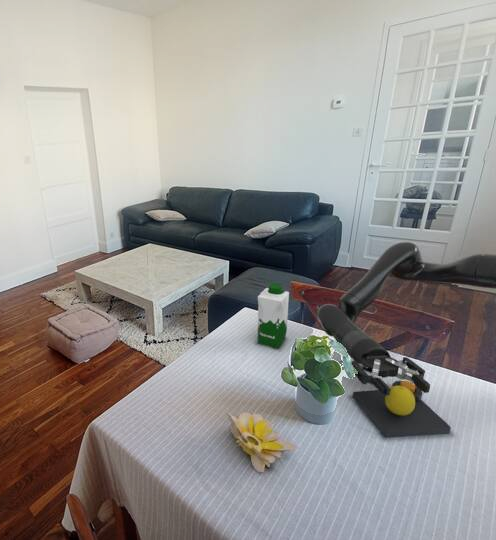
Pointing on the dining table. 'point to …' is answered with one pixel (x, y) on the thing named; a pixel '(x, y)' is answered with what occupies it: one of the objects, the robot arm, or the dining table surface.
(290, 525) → the dining table surface
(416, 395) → the scale
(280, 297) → the milk carton
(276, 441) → the decorative flower
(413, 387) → the tare button
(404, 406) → the lemon
